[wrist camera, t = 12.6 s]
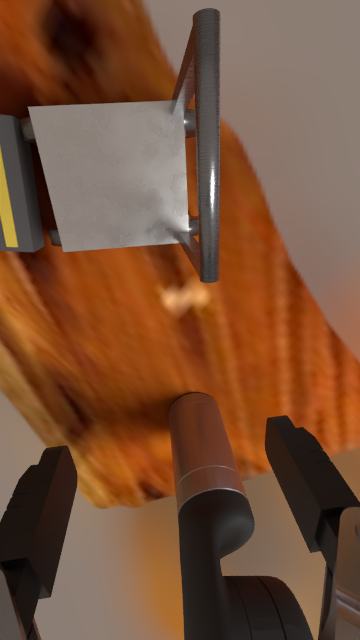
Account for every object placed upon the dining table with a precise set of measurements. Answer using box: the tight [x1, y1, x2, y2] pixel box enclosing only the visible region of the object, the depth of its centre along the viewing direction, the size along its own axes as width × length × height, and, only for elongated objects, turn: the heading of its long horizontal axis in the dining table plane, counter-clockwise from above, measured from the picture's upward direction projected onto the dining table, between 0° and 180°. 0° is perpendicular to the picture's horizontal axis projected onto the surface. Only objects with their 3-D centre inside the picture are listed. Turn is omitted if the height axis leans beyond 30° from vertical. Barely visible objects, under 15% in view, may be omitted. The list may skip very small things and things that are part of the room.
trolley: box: [20, 8, 220, 283], centre depth 23 cm, size 18×12×22 cm, turn 93°
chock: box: [0, 114, 44, 252], centre depth 30 cm, size 13×4×4 cm, turn 176°
